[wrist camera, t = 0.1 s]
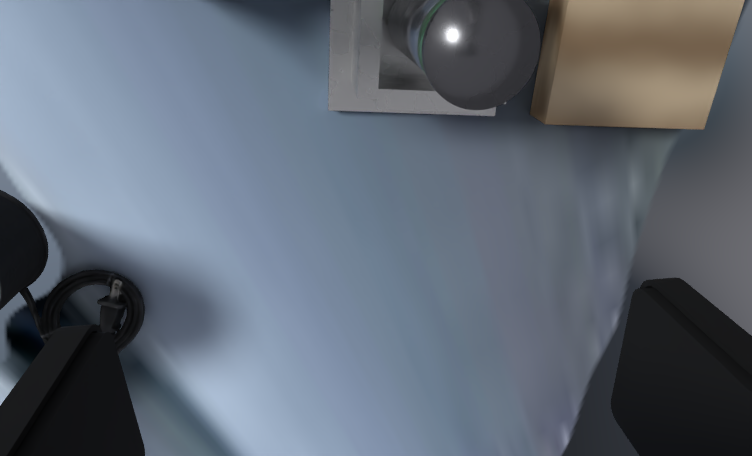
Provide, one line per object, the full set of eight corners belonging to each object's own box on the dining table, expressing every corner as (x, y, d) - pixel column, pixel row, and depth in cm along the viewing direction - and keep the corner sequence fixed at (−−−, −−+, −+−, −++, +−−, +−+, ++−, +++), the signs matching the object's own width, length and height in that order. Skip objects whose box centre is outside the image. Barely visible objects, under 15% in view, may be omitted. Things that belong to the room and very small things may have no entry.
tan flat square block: (562, -69, 35) (582, -72, 33) (730, -56, 37) (762, -58, 34) (529, 117, 40) (544, 127, 38) (677, 122, 42) (703, 132, 39)
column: (386, -21, 35) (430, -18, 21) (462, -16, 35) (550, -11, 22) (381, 60, 37) (418, 108, 24) (453, 63, 37) (529, 112, 24)
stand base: (332, -86, 34) (336, -100, 27) (517, -72, 35) (562, -82, 29) (328, 107, 39) (330, 133, 32) (490, 113, 40) (523, 138, 34)
